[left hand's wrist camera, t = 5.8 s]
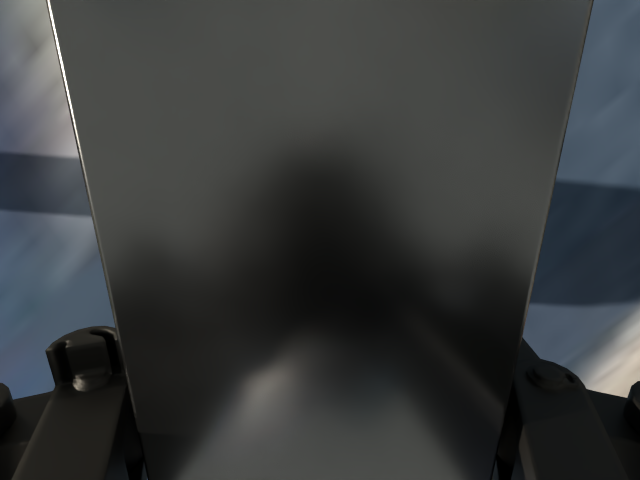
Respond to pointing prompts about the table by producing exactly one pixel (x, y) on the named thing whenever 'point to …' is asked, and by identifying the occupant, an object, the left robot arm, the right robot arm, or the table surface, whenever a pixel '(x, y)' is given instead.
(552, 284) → the table surface
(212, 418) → the bar
